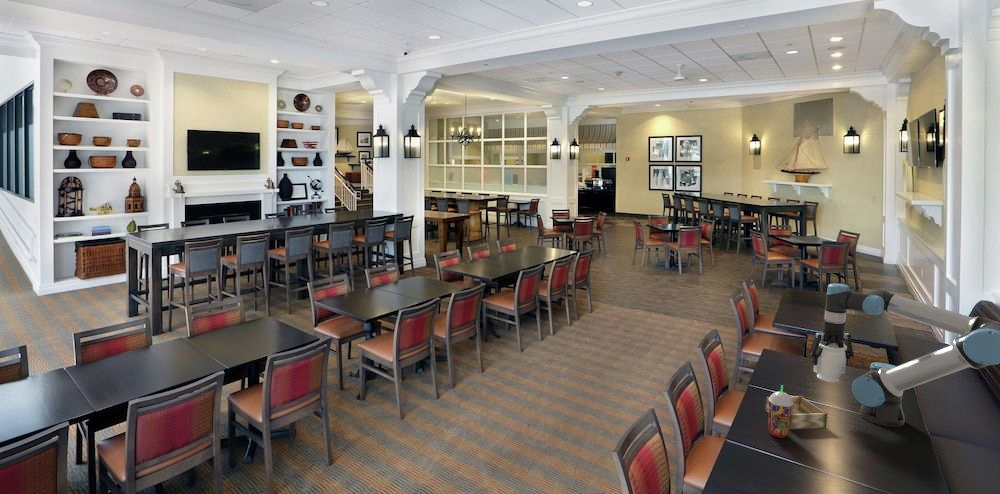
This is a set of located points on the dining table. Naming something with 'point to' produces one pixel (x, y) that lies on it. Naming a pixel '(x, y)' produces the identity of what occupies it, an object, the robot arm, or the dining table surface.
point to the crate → (804, 414)
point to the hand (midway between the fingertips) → (829, 372)
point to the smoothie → (779, 413)
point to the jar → (831, 362)
